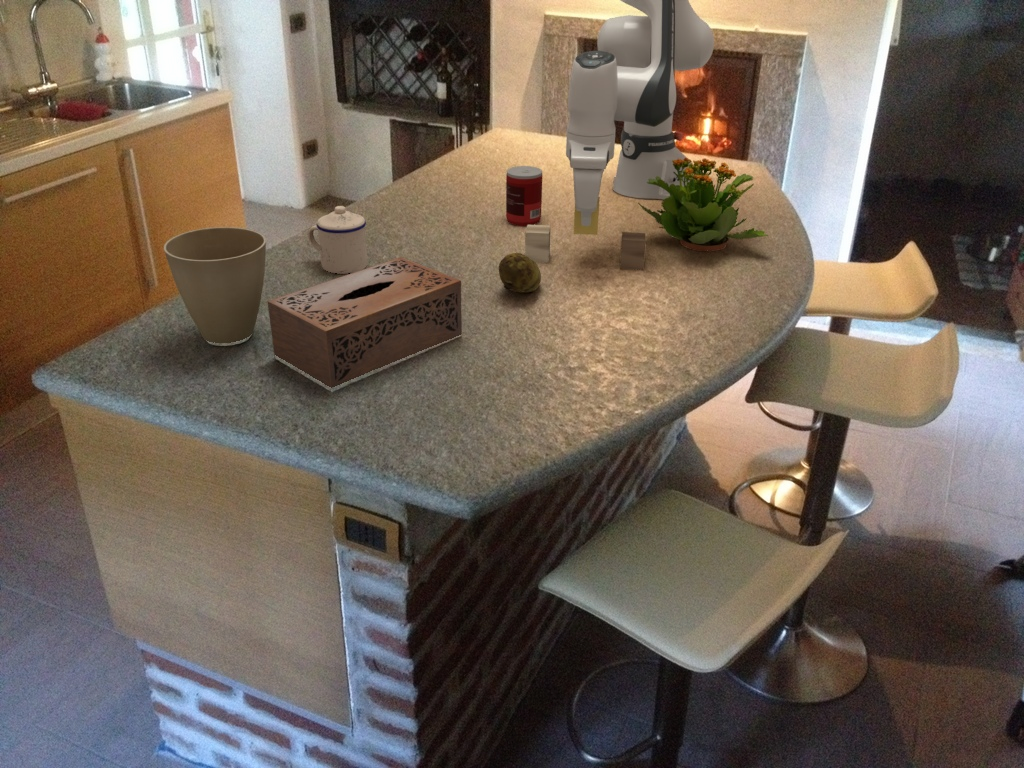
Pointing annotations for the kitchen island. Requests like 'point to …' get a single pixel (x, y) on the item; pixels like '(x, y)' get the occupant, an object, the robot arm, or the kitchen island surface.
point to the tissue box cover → (365, 320)
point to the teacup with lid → (341, 241)
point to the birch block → (537, 243)
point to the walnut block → (632, 251)
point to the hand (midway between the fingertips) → (586, 219)
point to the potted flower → (701, 206)
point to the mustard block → (586, 229)
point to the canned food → (523, 195)
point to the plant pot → (219, 279)
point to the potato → (519, 273)
